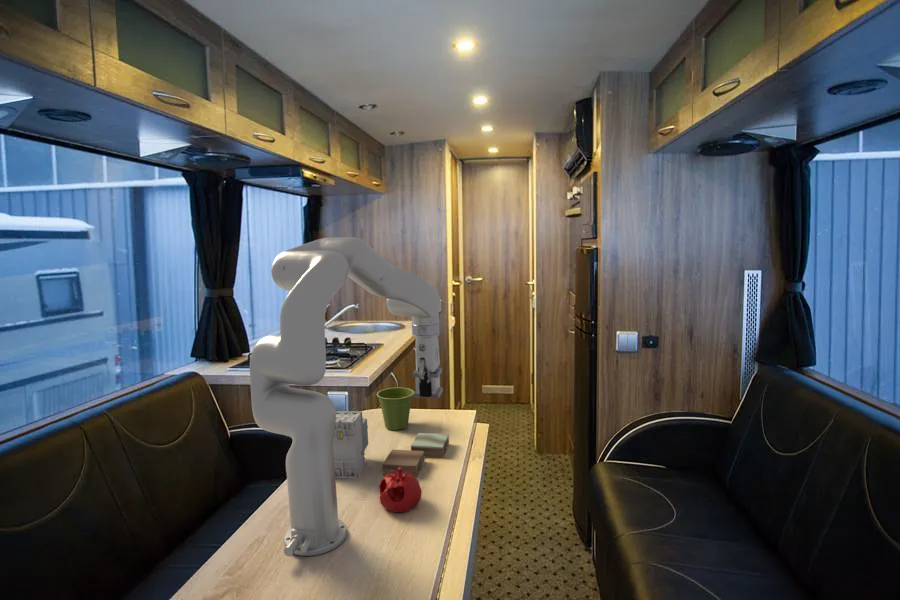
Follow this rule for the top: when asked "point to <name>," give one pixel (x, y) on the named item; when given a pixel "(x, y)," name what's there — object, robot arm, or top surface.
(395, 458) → the stand
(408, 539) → the top surface
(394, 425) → the plant pot
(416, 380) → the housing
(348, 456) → the circuit breaker
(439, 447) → the stand
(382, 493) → the pomegranate
